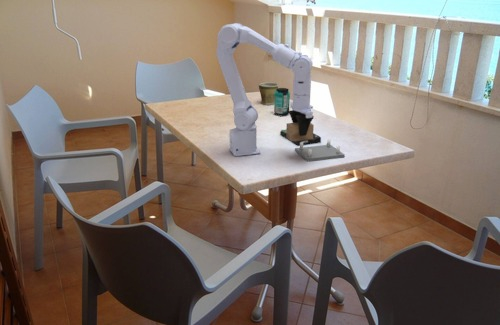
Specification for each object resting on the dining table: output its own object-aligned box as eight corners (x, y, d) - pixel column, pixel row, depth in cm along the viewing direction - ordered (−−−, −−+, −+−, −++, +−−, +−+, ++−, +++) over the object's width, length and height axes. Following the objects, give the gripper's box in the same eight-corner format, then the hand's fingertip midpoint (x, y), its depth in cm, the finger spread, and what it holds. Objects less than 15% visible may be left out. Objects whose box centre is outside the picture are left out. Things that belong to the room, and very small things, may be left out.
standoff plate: (307, 161, 140) (307, 151, 138) (294, 150, 150) (295, 141, 148) (344, 157, 143) (345, 147, 142) (330, 147, 153) (330, 138, 152)
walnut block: (291, 141, 139) (291, 127, 137) (286, 137, 143) (286, 123, 141) (313, 138, 141) (313, 124, 139) (307, 135, 145) (308, 121, 143)
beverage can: (289, 112, 199) (289, 87, 195) (289, 116, 193) (289, 90, 188) (274, 112, 200) (275, 87, 195) (273, 116, 193) (274, 90, 189)
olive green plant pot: (278, 106, 211) (278, 86, 207) (258, 106, 211) (258, 86, 207) (277, 100, 223) (277, 81, 219) (258, 100, 223) (258, 81, 219)
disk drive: (321, 144, 158) (301, 132, 171) (321, 137, 157) (301, 126, 170) (297, 147, 155) (279, 136, 167) (298, 140, 153) (279, 129, 166)
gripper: (322, 97, 131) (319, 138, 136) (304, 88, 144) (302, 126, 149) (301, 99, 129) (300, 140, 134) (285, 90, 142) (284, 127, 147)
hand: (300, 133), depth 141 cm, fingers closed on walnut block, 4 cm apart
